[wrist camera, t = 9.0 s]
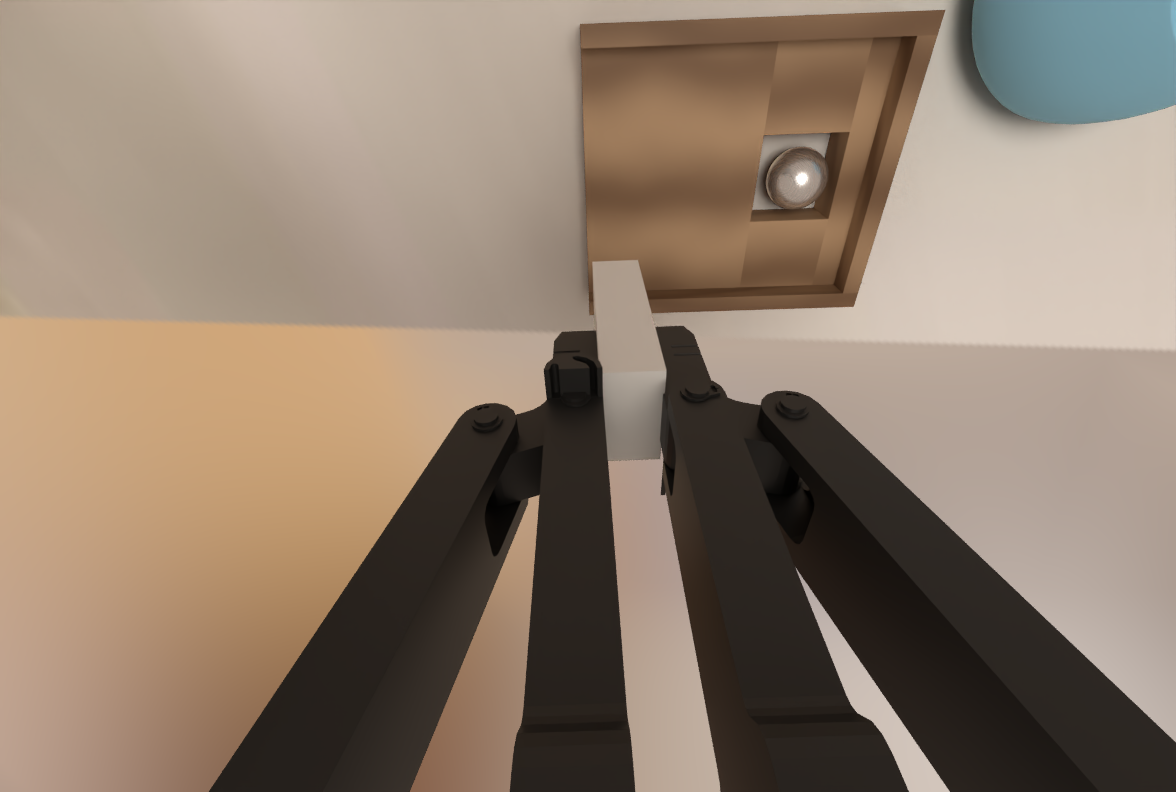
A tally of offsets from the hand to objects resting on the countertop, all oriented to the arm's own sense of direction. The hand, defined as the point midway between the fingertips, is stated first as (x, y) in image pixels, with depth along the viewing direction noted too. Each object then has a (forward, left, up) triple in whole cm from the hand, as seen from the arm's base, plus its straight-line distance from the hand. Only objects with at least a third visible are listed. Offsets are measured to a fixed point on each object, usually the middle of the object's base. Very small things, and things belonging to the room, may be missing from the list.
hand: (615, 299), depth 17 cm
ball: (0, +13, -19) cm, 23 cm away
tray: (0, +8, -19) cm, 21 cm away
